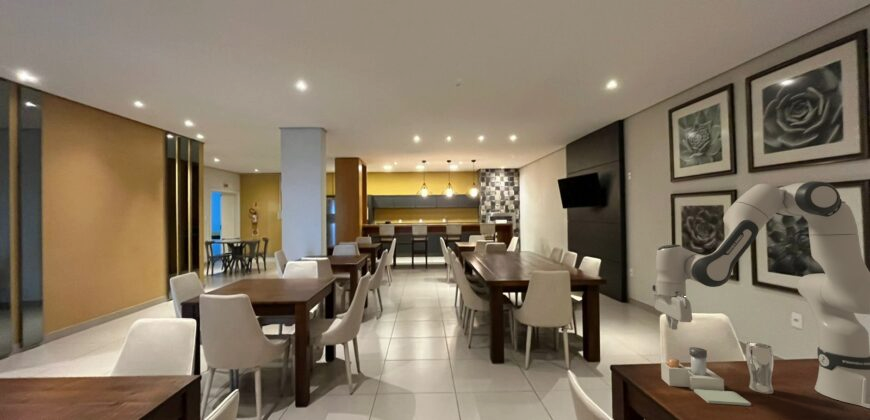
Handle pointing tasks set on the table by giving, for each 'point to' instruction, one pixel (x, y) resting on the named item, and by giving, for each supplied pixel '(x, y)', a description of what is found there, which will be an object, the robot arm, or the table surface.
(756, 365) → the beer glass
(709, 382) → the housing
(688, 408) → the table surface
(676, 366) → the release button
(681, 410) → the table surface
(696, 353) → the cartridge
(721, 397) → the mat
